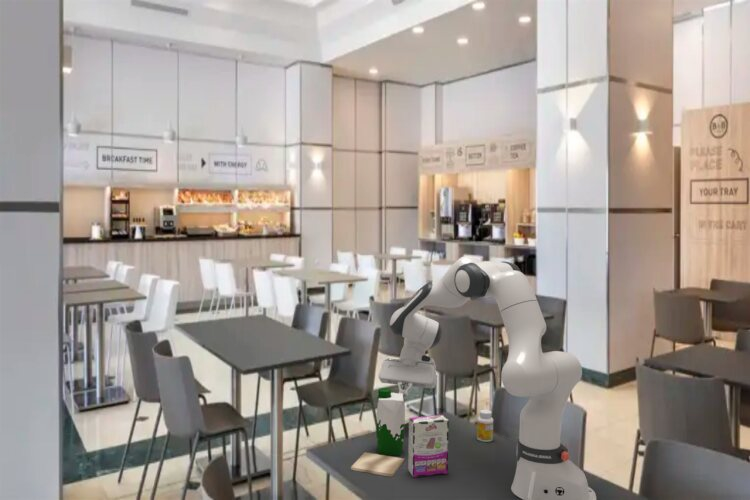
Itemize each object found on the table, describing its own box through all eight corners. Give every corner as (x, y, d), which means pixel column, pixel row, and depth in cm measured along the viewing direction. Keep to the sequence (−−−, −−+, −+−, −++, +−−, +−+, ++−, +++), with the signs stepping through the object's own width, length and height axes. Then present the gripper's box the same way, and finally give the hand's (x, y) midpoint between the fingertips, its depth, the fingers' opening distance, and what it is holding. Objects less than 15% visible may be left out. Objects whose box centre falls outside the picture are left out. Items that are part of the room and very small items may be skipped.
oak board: (403, 461, 187) (404, 458, 187) (392, 476, 175) (392, 474, 175) (364, 454, 191) (364, 452, 191) (350, 469, 180) (350, 467, 179)
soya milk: (376, 445, 199) (377, 385, 198) (403, 446, 199) (405, 386, 197) (375, 456, 190) (377, 393, 189) (404, 456, 190) (405, 394, 189)
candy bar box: (441, 467, 183) (443, 414, 182) (448, 474, 178) (449, 419, 177) (406, 470, 180) (408, 416, 179) (412, 477, 175) (413, 422, 174)
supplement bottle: (473, 437, 208) (474, 409, 207) (487, 435, 210) (488, 408, 209) (481, 442, 203) (482, 414, 202) (495, 441, 204) (496, 413, 204)
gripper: (382, 353, 216) (372, 387, 207) (437, 358, 209) (430, 394, 201) (385, 362, 220) (376, 396, 212) (440, 368, 214) (433, 403, 205)
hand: (403, 395), depth 206 cm, fingers closed
